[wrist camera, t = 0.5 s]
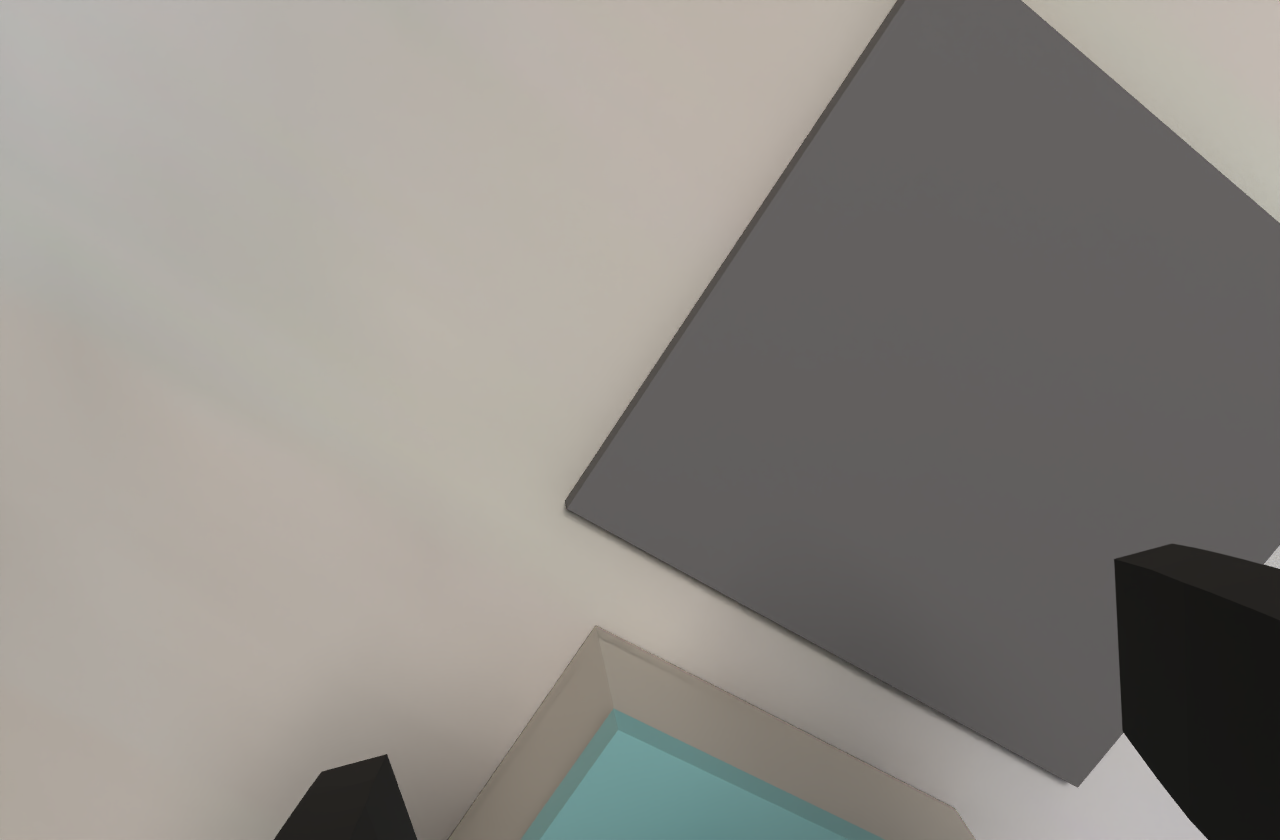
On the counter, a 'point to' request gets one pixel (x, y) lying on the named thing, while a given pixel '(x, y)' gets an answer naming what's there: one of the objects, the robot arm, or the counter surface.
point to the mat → (967, 381)
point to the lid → (673, 796)
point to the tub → (701, 717)
